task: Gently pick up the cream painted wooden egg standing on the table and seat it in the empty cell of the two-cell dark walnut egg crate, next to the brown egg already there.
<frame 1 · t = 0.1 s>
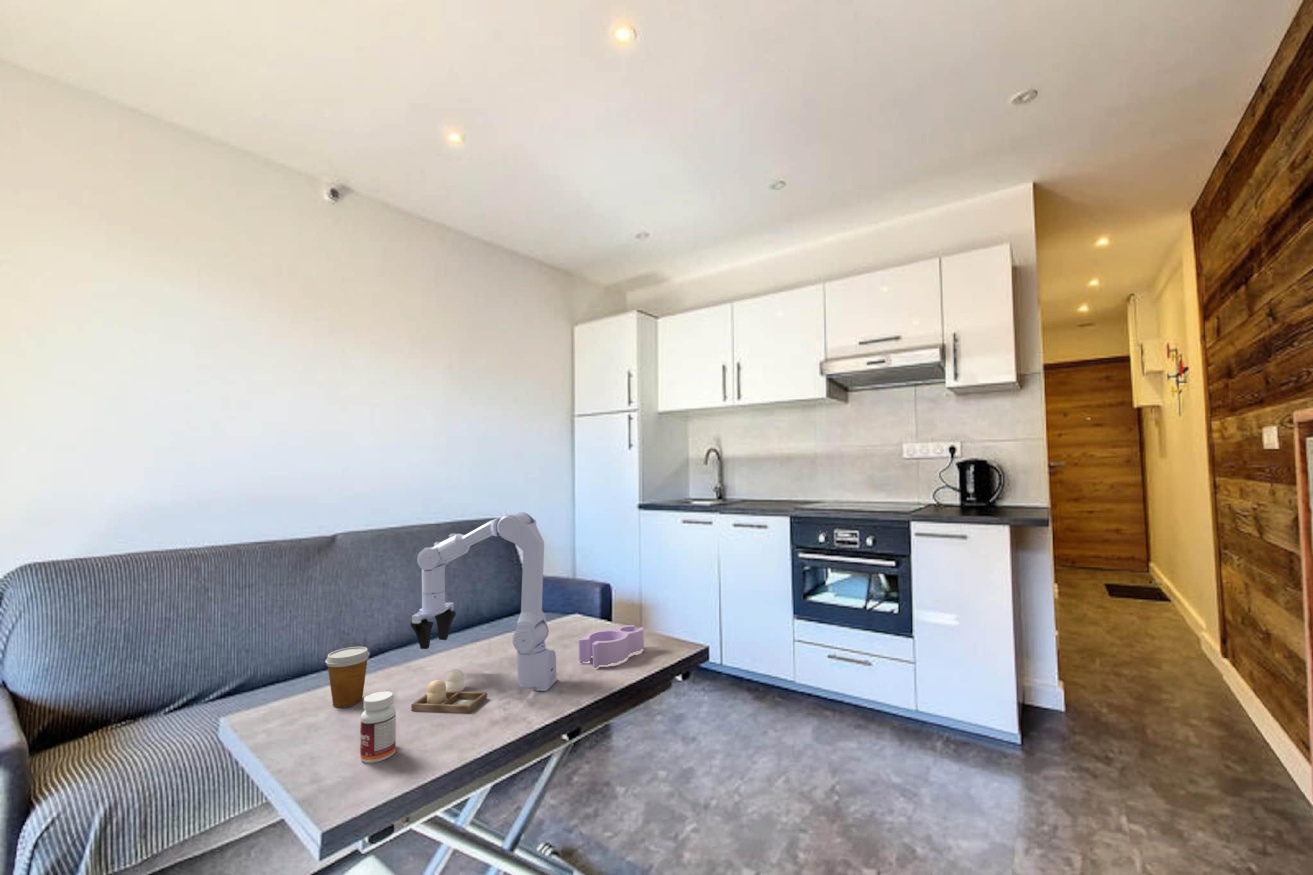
hand: (434, 643, 144), 10 cm above the table, fingers open, 7 cm apart
pill bottle: (378, 756, 106), on the table
clip: (614, 658, 158), on the table
cream egg: (455, 692, 137), on the table
egg crate: (450, 707, 127), on the table
brown egg: (436, 704, 128), resting on egg crate
disposable coffee cup: (347, 702, 133), on the table
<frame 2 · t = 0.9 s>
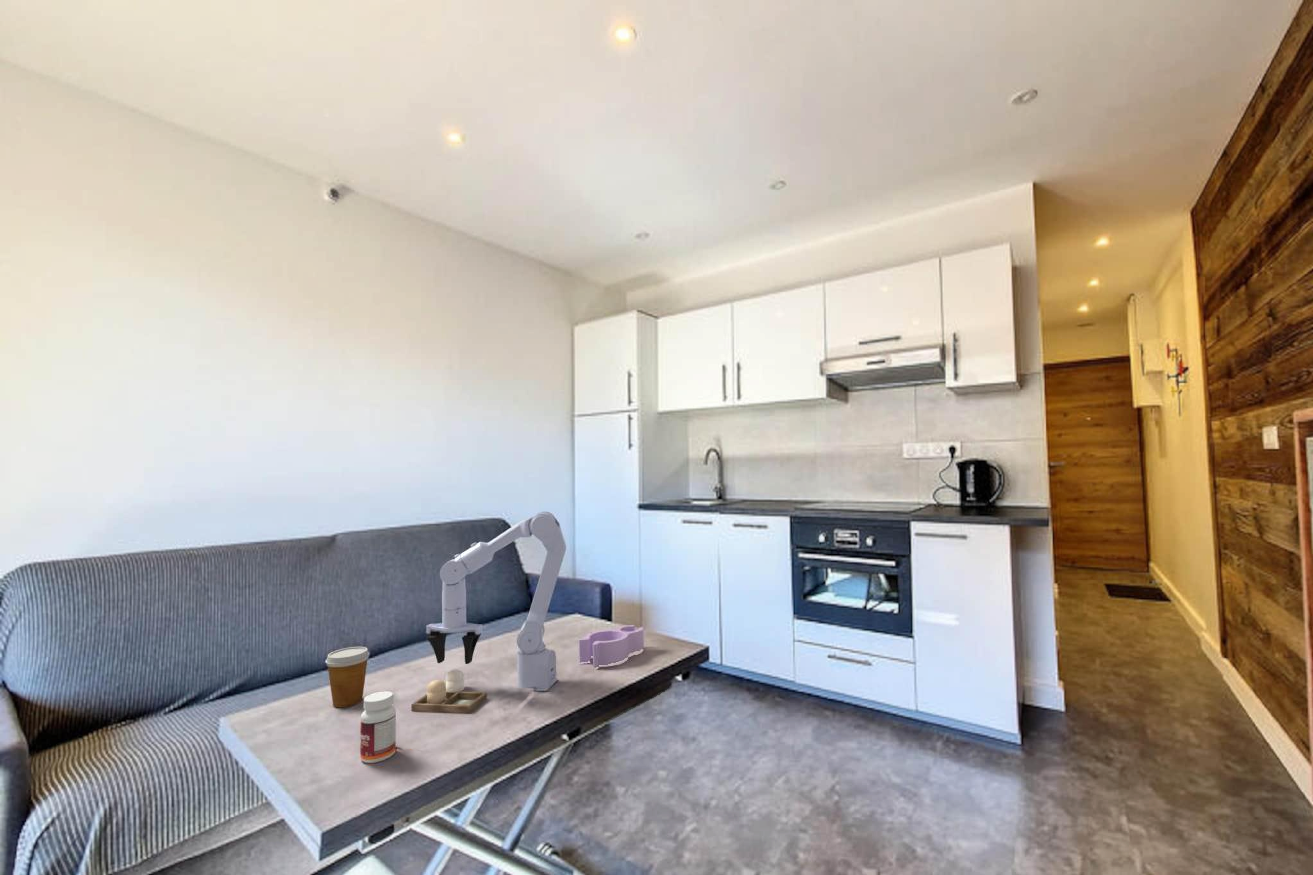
hand: (454, 662, 137), 7 cm above the table, fingers open, 7 cm apart
nothing on the table moved.
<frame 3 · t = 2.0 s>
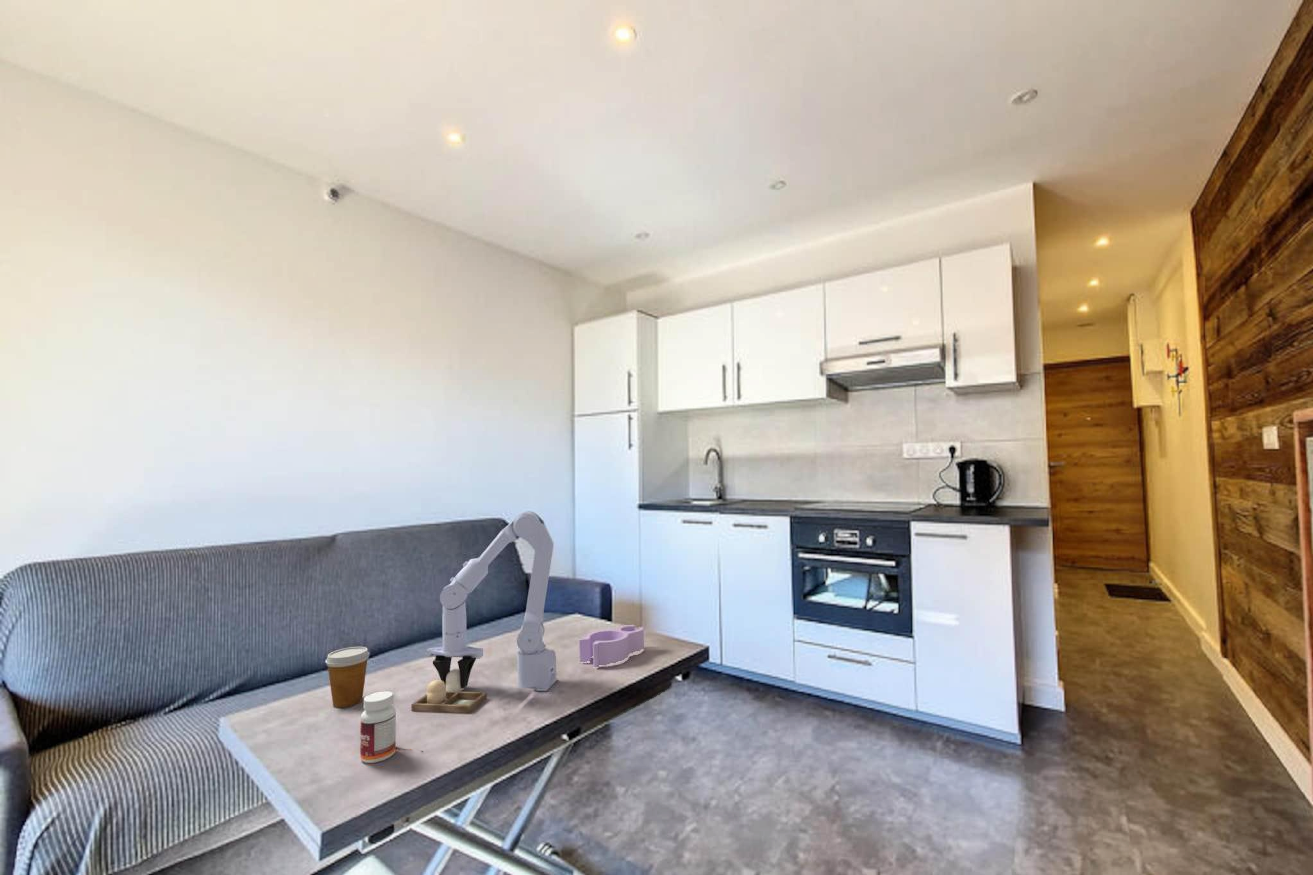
hand: (455, 686, 137), 1 cm above the table, fingers closed on cream egg, 4 cm apart
cream egg: (455, 692, 137), on the table, touching gripper
everything else where it was.
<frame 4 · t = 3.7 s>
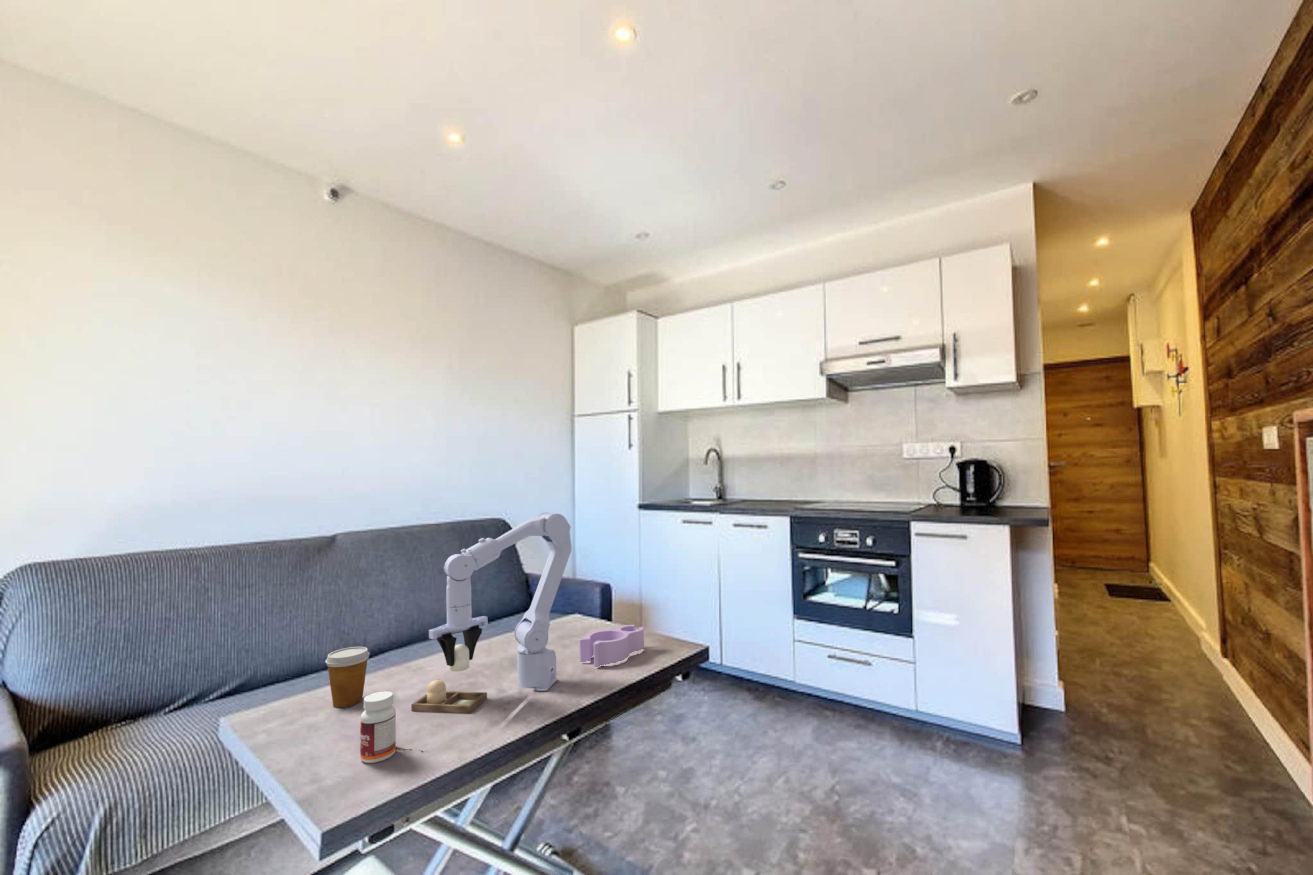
hand: (459, 662, 131), 9 cm above the table, fingers closed on cream egg, 4 cm apart
cream egg: (459, 668, 131), point 8 cm above the table, touching gripper
everything else where it was.
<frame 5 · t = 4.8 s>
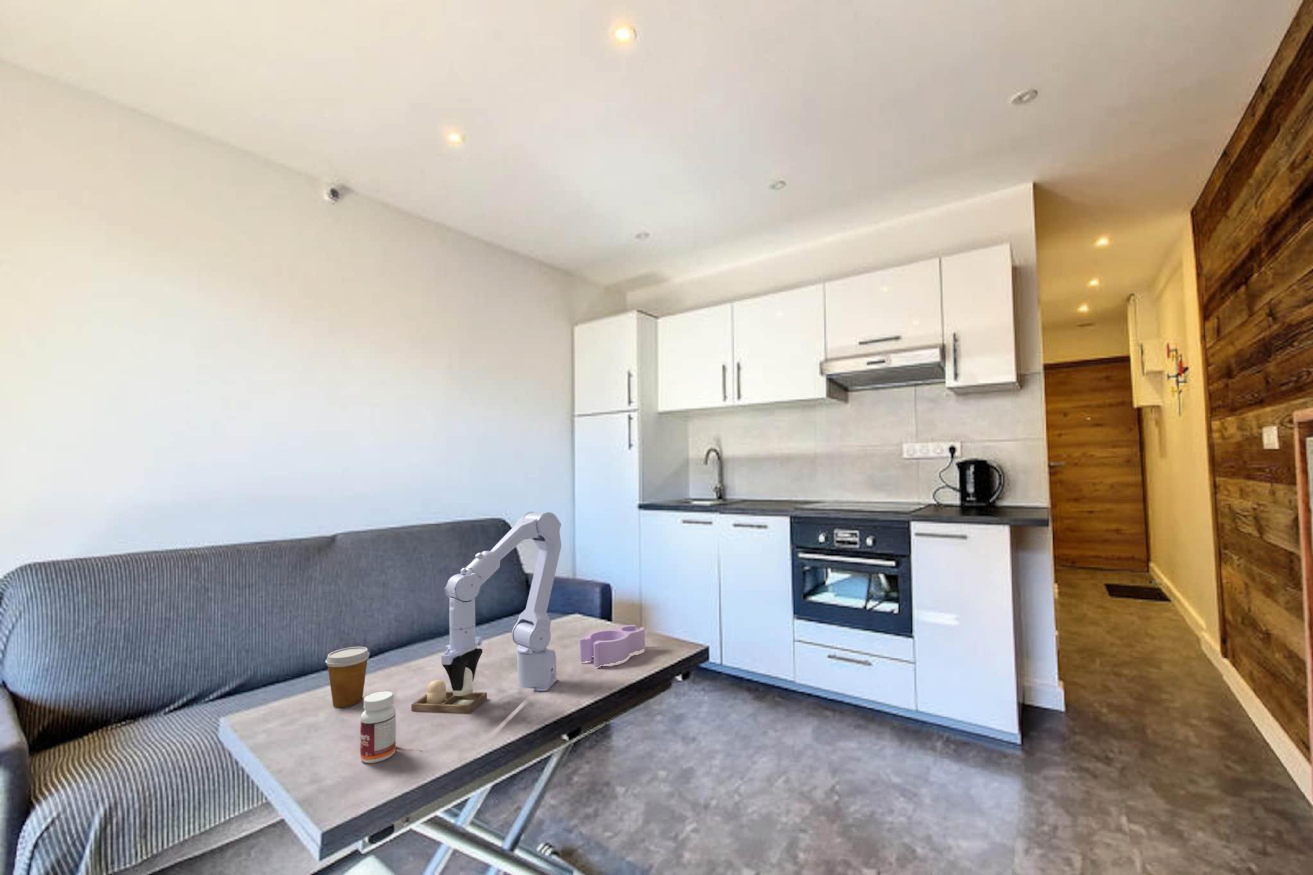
hand: (463, 685, 127), 5 cm above the table, fingers closed on cream egg, 4 cm apart
cream egg: (462, 692, 127), point 4 cm above the table, touching gripper
everything else where it was.
when the fingers open (3 cm above the table, at t = 5.7 s): cream egg stays where it is, resting on egg crate.
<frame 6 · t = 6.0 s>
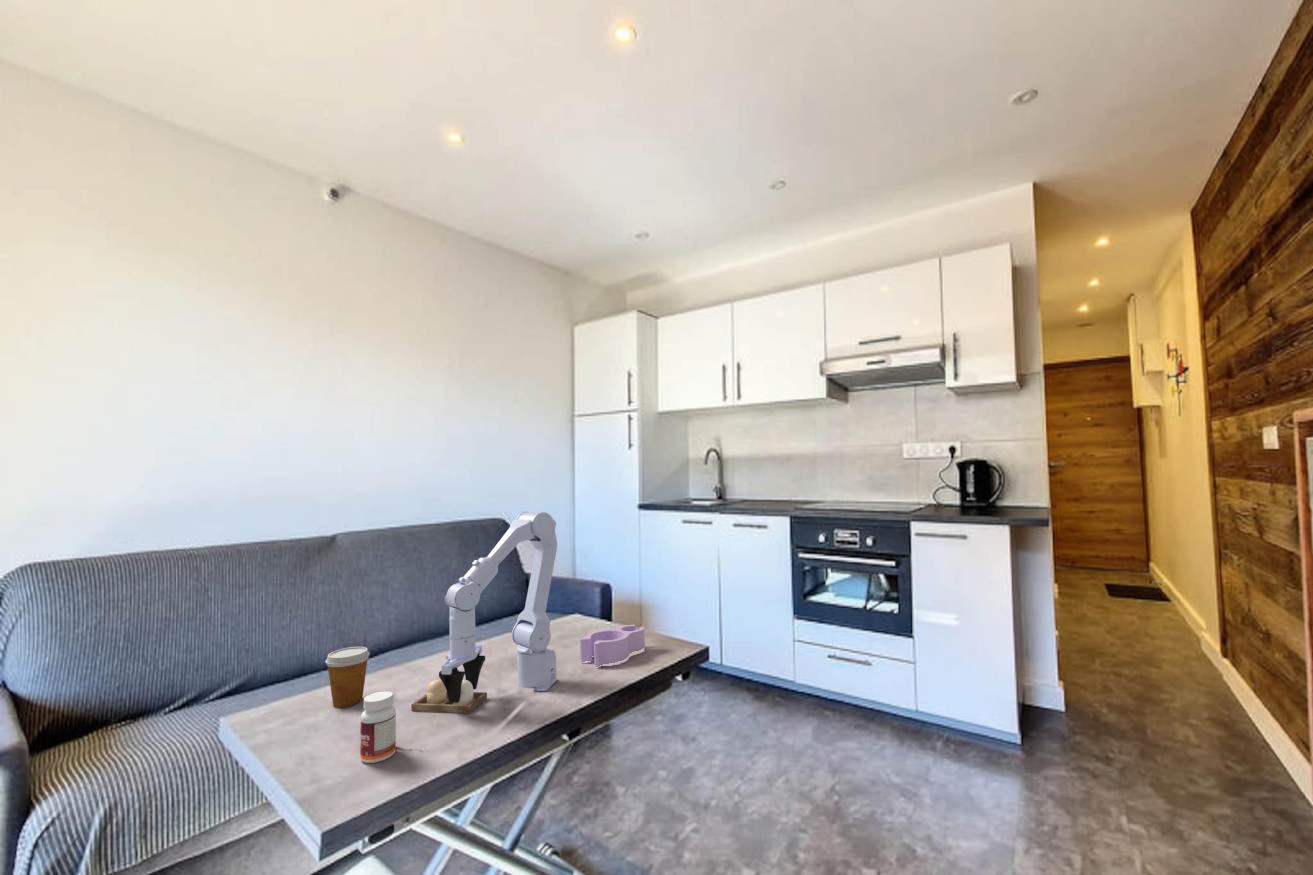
hand: (463, 695, 127), 3 cm above the table, fingers open, 7 cm apart
cream egg: (463, 705, 126), point 1 cm above the table, touching egg crate
everything else where it was.
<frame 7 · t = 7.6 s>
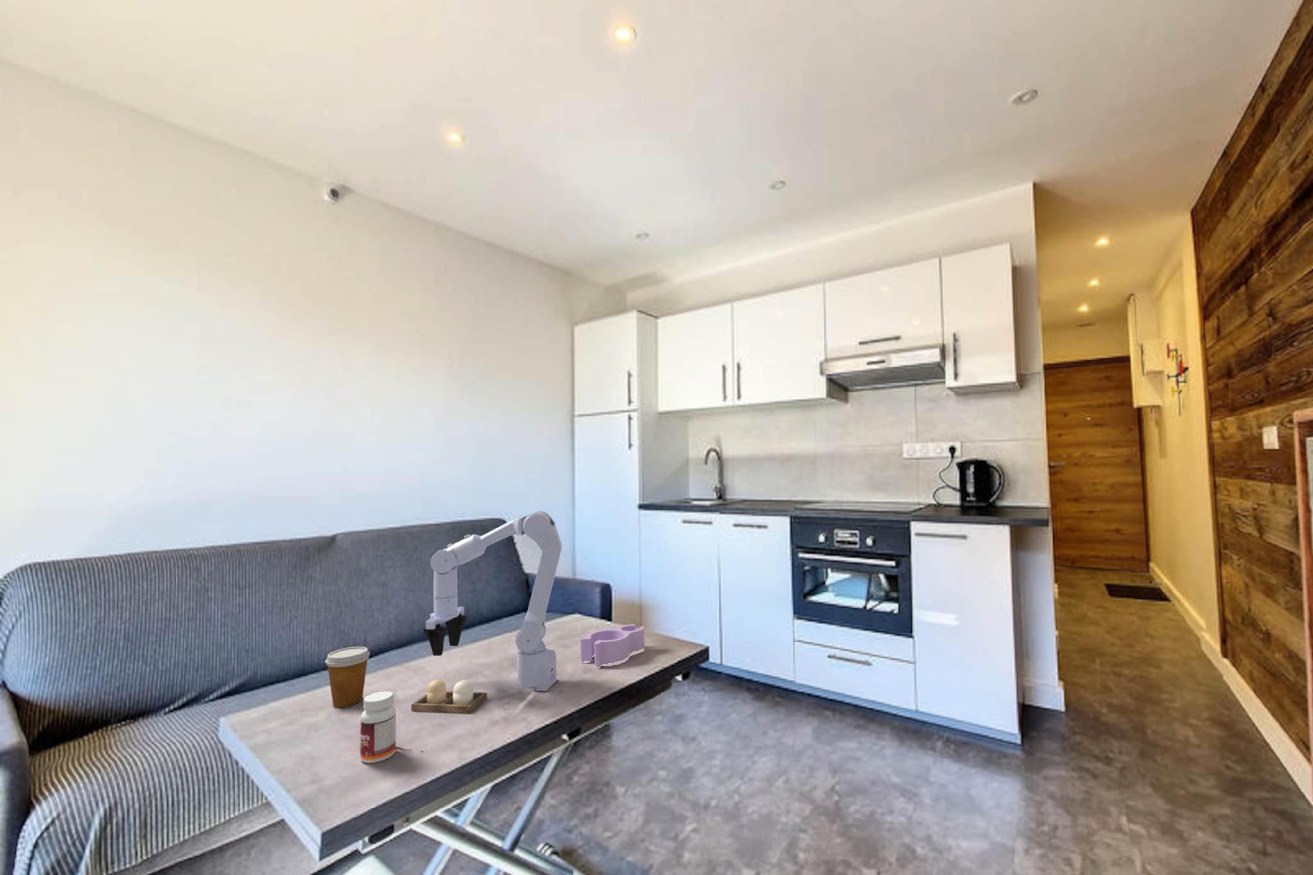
hand: (446, 650, 139), 10 cm above the table, fingers open, 7 cm apart
nothing on the table moved.
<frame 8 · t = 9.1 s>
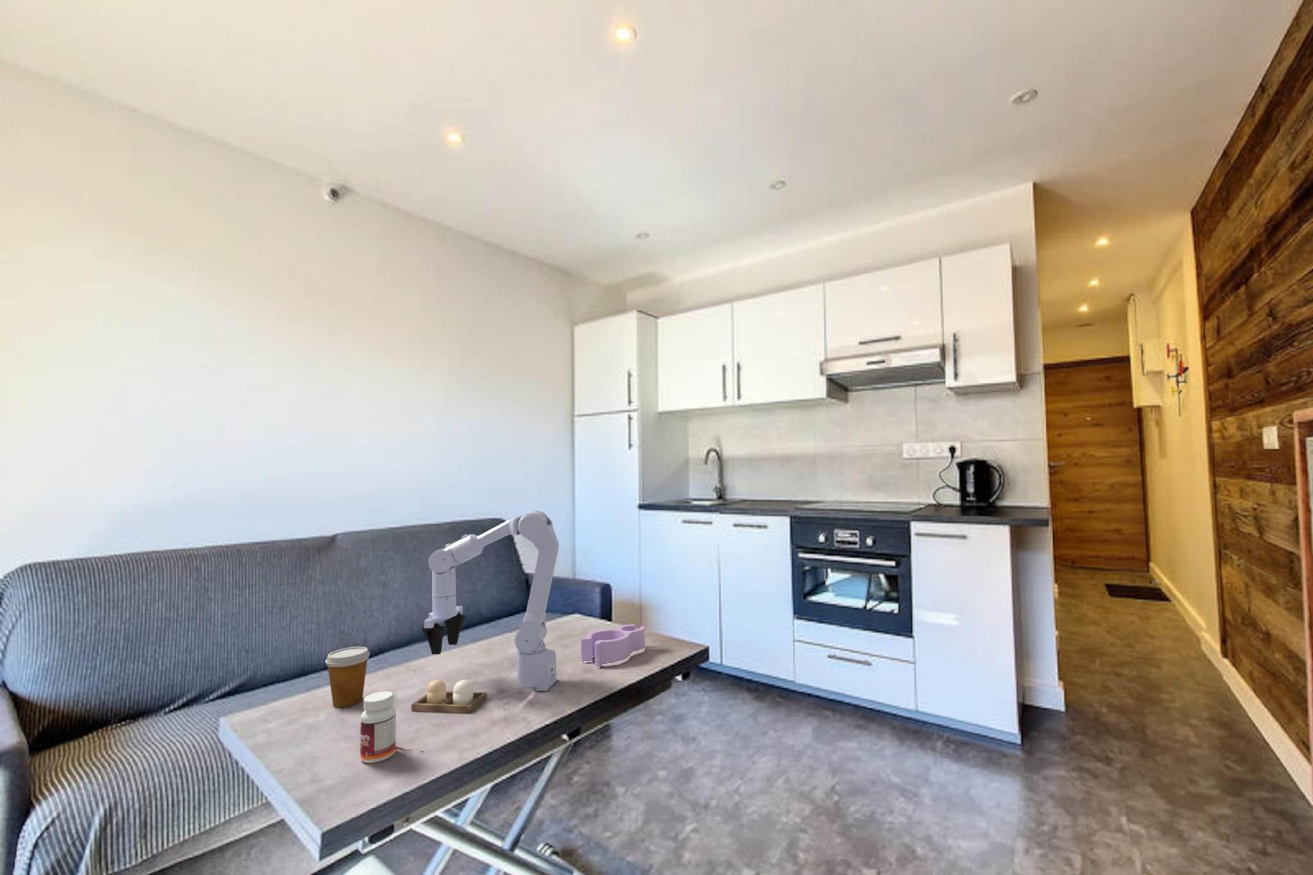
hand: (444, 649, 140), 10 cm above the table, fingers open, 7 cm apart
nothing on the table moved.
at the end: cream egg 0.0 cm from the target spot on the egg crate, point 0.8 cm above the egg crate's base; cream egg tilted 0°; the gripper is holding nothing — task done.
